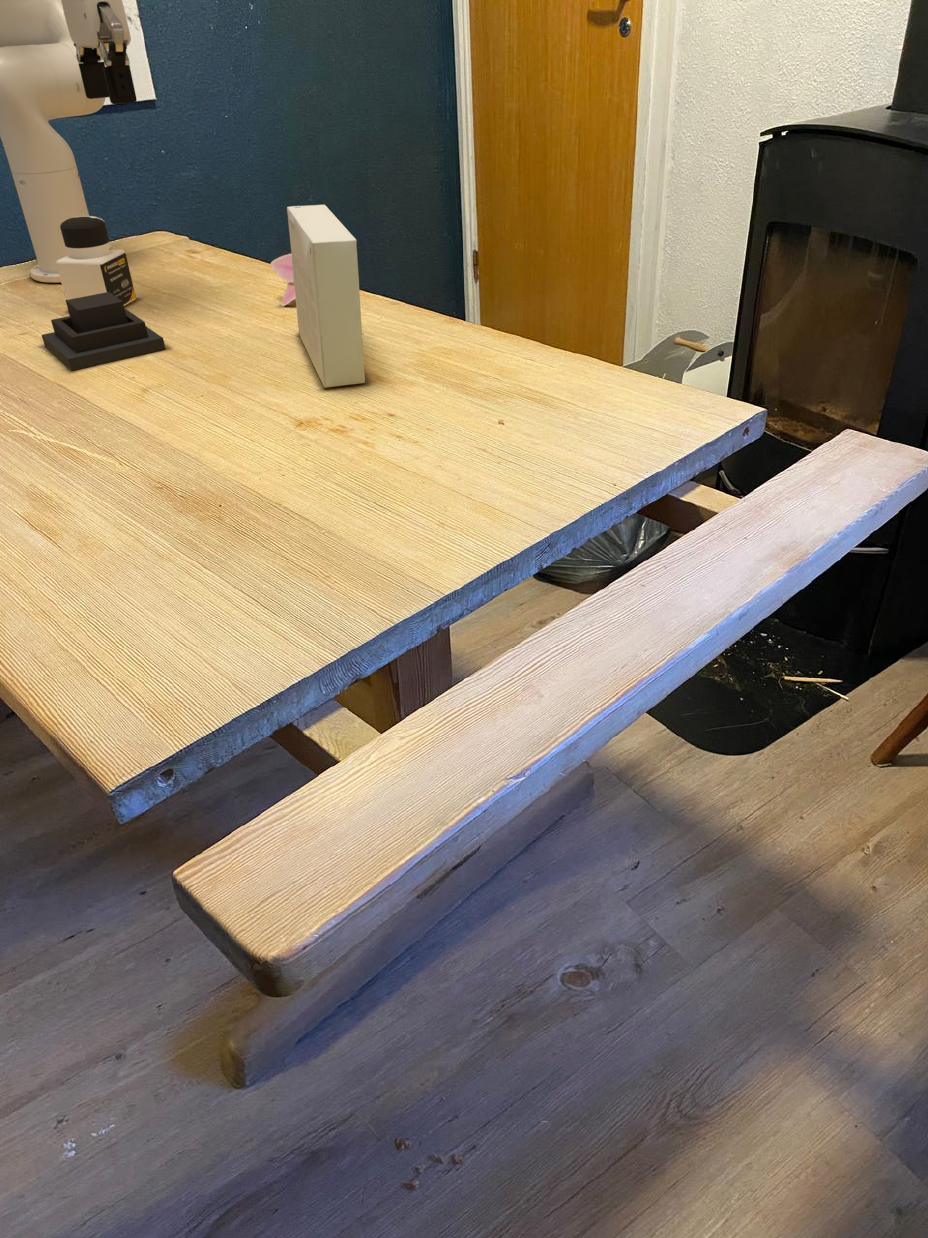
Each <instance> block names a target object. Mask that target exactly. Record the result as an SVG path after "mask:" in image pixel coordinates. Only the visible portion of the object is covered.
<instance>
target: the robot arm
mask: <svg viewBox="0 0 928 1238" xmlns="http://www.w3.org/2000/svg"><path fill="white" fill-rule="evenodd" d="M130 31H131V30H130V27H129V23H128V19H127V15H126V11H125V6H124V3H123V0H0V140H1V142H2V146H3V149H4V152H5V155H6V158H7V162H8V165H9V169H10V172H11V175H12V178H13V182H14V186H15V189H16V193H17V197H18V199H19V203H20V206H21V210H22V213H23V216H24V220H25V223H26V227H27V230H28V234H29V237H30V241H31V243H32V244H31V245H32V247H33V251H34V254H35V257H36V261H37V264H36V265H34V266H33V267H31V268H30V270H29V273H30V276H31V278H32V279H33V280H34V281H36V282H41V283H49V284H51V283H52V284H53V283H55V284H56V283H57V284H58V283H61V280H60V276H59V273H58V269H57V265H56V261H57V260H59V259H61V258H64V257H66V256H68V255H70V253H68V252H67V251H66V247H65V243H64V240H63V236H62V232H61V229H60V225H61V223H63V222H64V221H65V220H67V219H70V218H74V217H81V216H90V214H89V209H88V206H87V202H86V198H85V194H84V190H83V186H82V182H81V177H80V174H79V170H78V165H77V162H76V160H75V155H74V153H73V151H72V149H71V146H70V145H69V143H68V142H67V141H66V140H65V139H64V138H63V137H62V136H61V135H60V134H59V133H58V132H57V131H56V130H55V129H54V128H53V126H52V125H51V124H50V122H49V121H52V120H56V119H62V118H70V117H79V116H85V115H91V114H94V113H97V112H98V111H100V109H102V108H103V107H104V105H105V103H106V99H107V98H109V102H110V104H112V105H123V104H133V103H134V104H135V103H137V100H138V99H137V95H136V90H135V85H134V79H133V74H132V70H131V65H130V57H129V55H128V53H127V49H128V46H129V45H130V44H131V41H132V37H131V32H130ZM101 60H102V61H101ZM61 284H62V283H61Z"/></svg>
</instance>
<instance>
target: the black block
mask: <svg viewBox="0 0 928 1238" xmlns="http://www.w3.org/2000/svg"><path fill="white" fill-rule="evenodd" d="M65 304H66V307H67V310H68V314H69V315H68V316H70V318H71V322H72V326H73V329H74V331H75V332H76V333H77V334H79V333H83V332H88V331H93V330H98V329H102V328H107V327H112V326H116V325H121V324H126V323H128V321H127V317H126V312H125V309H126V308H125V306H124V304H123V301H121V300H120V299H118V298H117V297H116V296H114V295H113V294H111V293H110V292H106V293H100V294H95V295H90V296H85V297H79V298H74V299H69V300H66V299H65Z"/></svg>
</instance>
